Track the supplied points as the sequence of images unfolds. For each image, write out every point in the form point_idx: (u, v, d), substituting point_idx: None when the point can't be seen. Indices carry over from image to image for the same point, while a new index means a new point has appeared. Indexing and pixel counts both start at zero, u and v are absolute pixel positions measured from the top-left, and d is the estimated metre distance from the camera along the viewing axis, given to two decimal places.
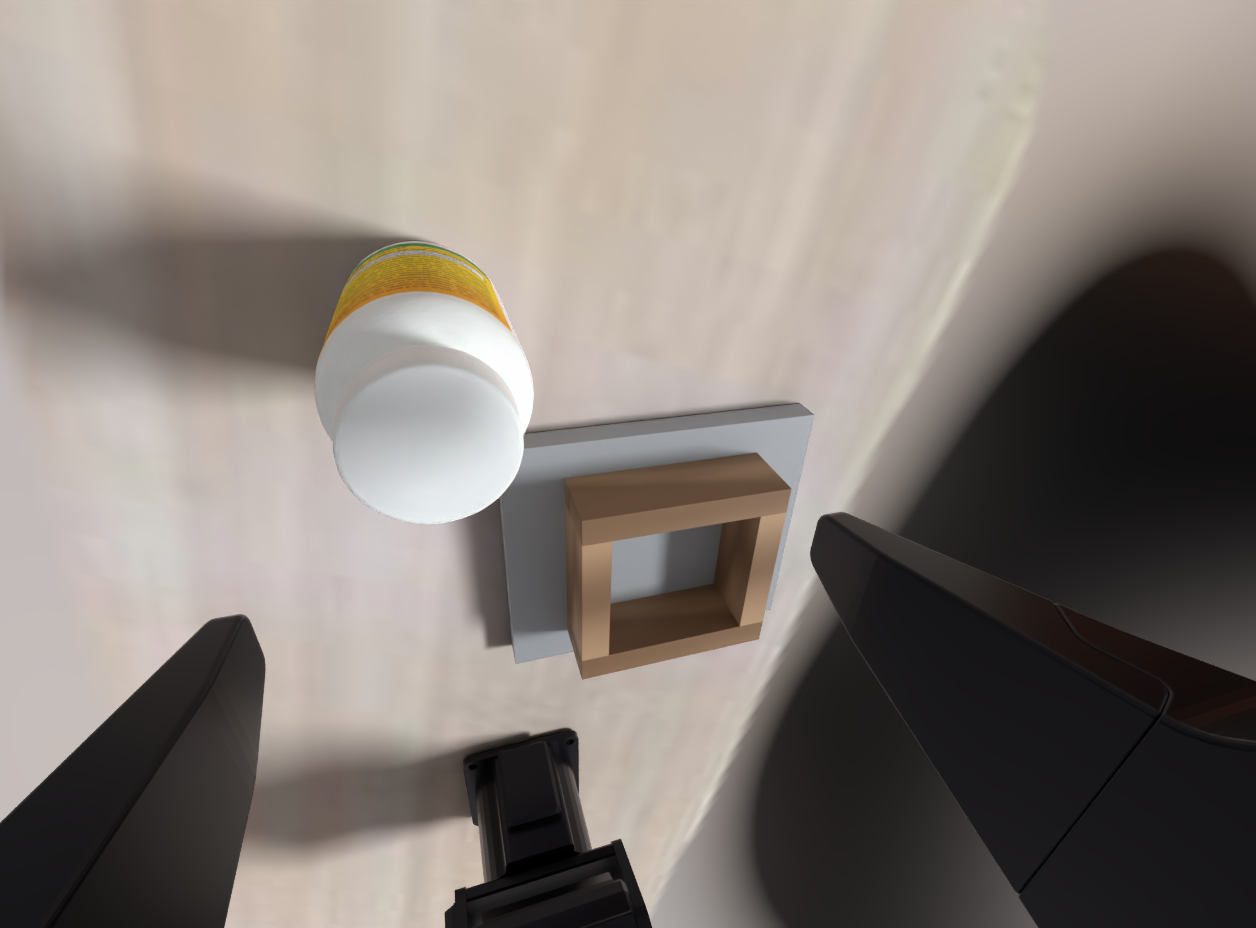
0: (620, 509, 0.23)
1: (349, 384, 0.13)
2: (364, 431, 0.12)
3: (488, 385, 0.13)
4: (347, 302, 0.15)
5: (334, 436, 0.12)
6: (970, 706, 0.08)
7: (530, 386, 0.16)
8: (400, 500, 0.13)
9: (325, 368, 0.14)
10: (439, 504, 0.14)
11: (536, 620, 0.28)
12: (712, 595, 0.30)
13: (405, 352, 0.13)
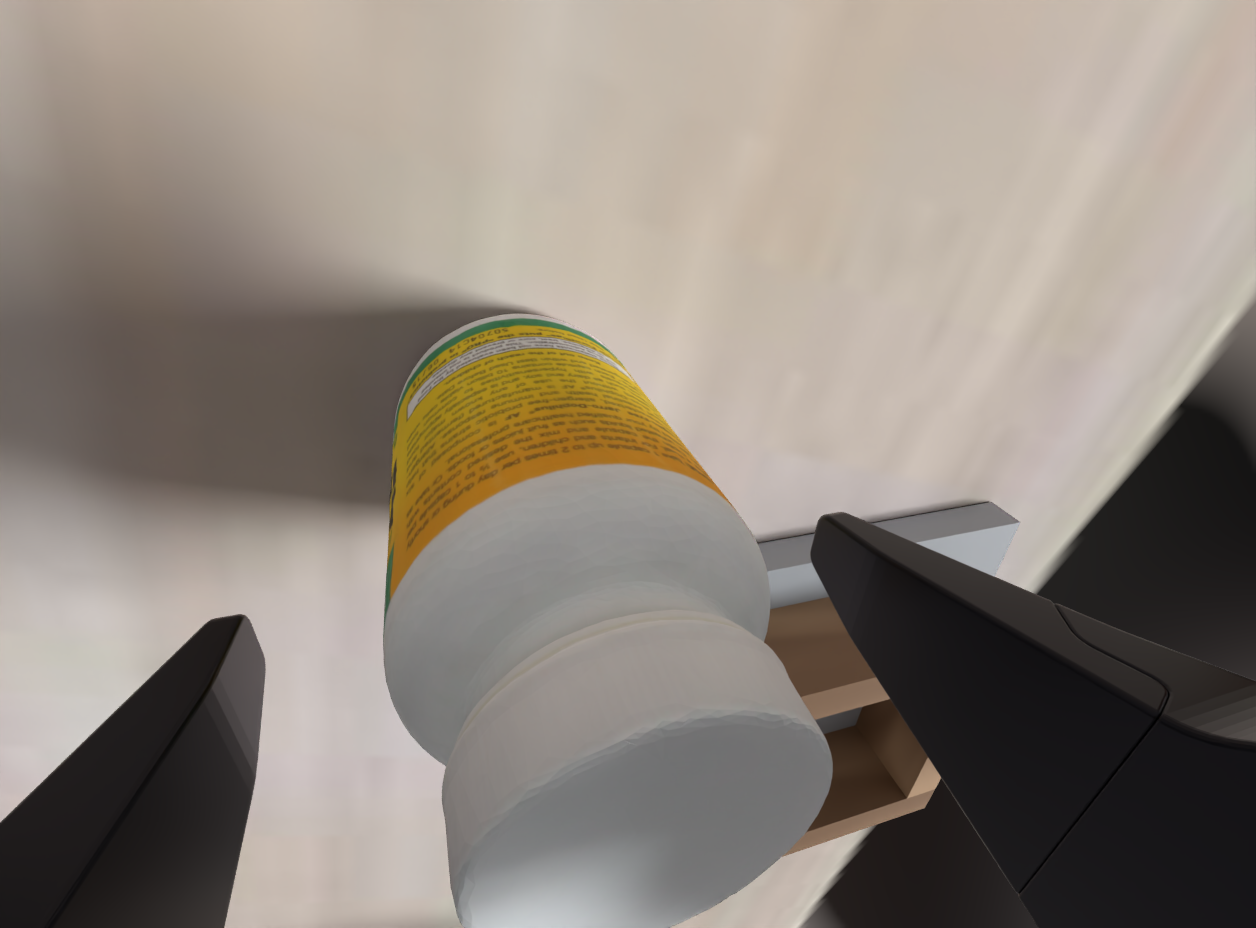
0: None
1: (485, 724, 0.06)
2: (527, 855, 0.05)
3: (800, 726, 0.06)
4: (437, 462, 0.08)
5: (460, 875, 0.05)
6: (970, 706, 0.08)
7: (769, 610, 0.09)
8: None
9: (413, 635, 0.07)
10: (649, 917, 0.07)
11: None
12: (858, 745, 0.23)
13: (615, 655, 0.06)
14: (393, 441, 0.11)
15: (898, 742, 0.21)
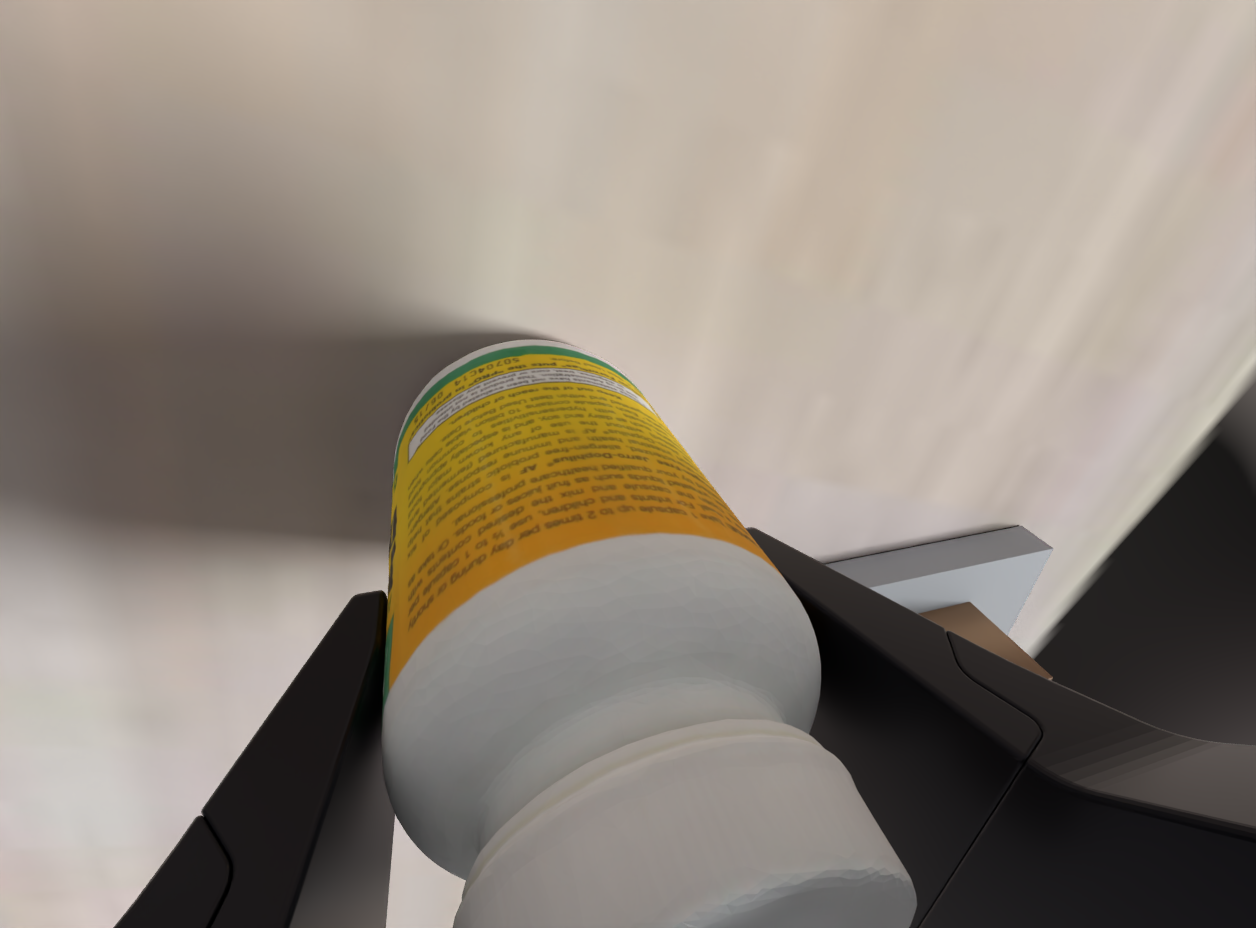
0: None
1: (503, 875, 0.05)
2: None
3: (888, 878, 0.05)
4: (443, 522, 0.07)
5: None
6: (861, 738, 0.08)
7: None
8: None
9: (415, 740, 0.06)
10: None
11: None
12: None
13: (662, 793, 0.05)
14: (393, 481, 0.10)
15: None
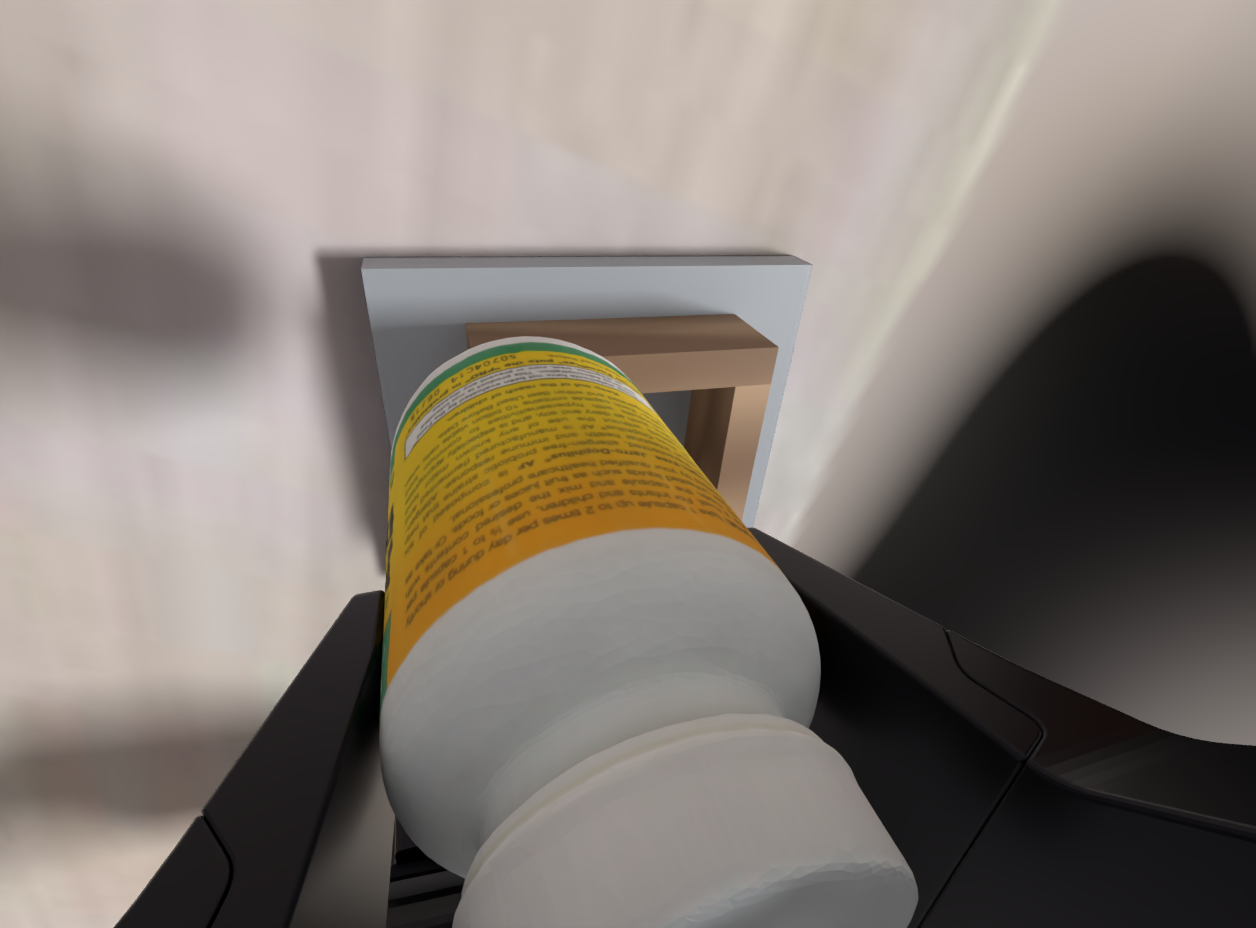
0: None
1: (504, 871, 0.05)
2: None
3: (889, 872, 0.05)
4: (440, 518, 0.07)
5: None
6: (861, 738, 0.08)
7: None
8: None
9: (414, 739, 0.06)
10: None
11: None
12: None
13: (663, 787, 0.05)
14: None
15: None
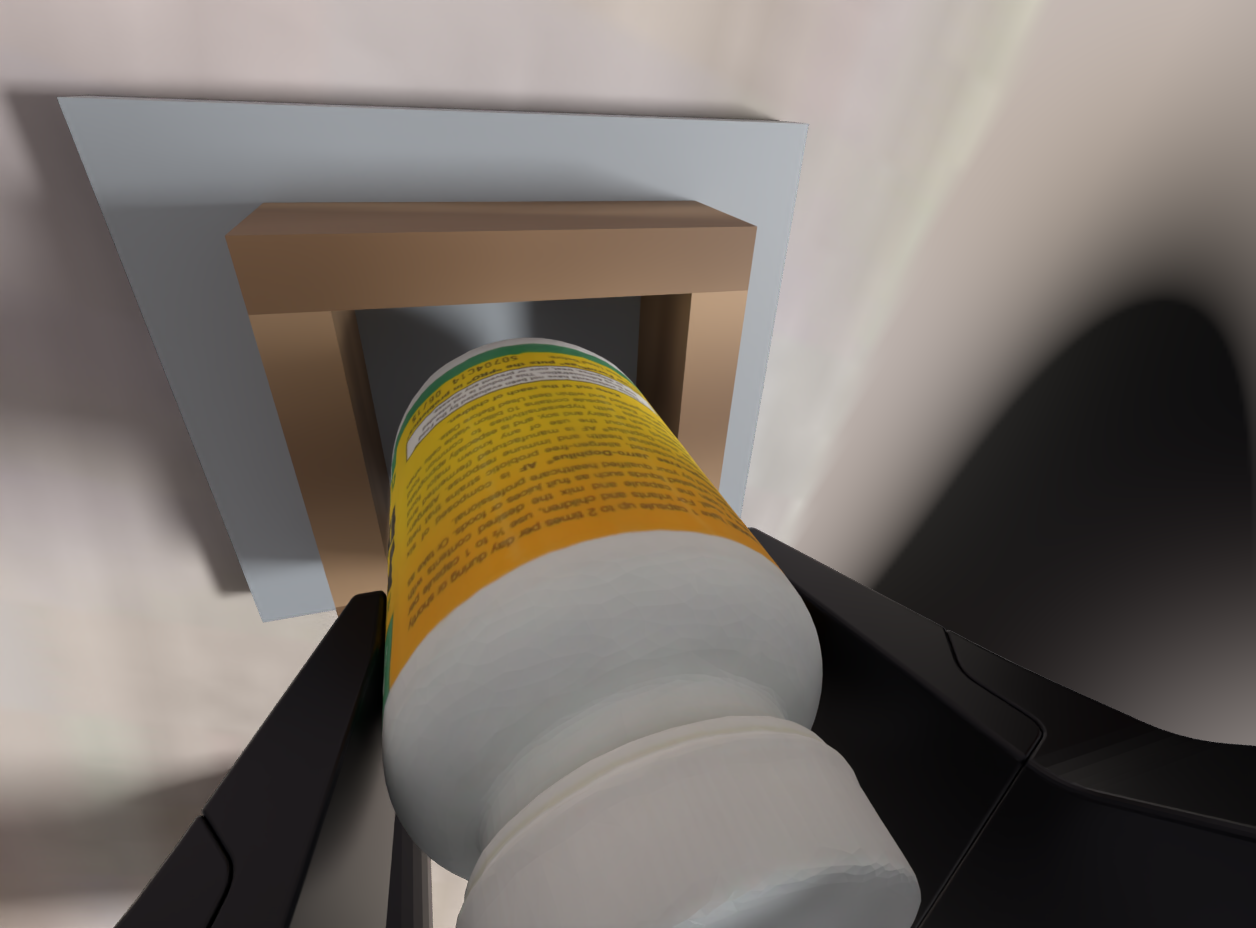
0: (343, 229, 0.10)
1: (507, 873, 0.05)
2: None
3: (892, 873, 0.05)
4: (443, 520, 0.07)
5: None
6: (860, 739, 0.08)
7: None
8: None
9: (416, 740, 0.06)
10: None
11: (283, 537, 0.15)
12: None
13: (666, 790, 0.05)
14: (391, 480, 0.10)
15: None
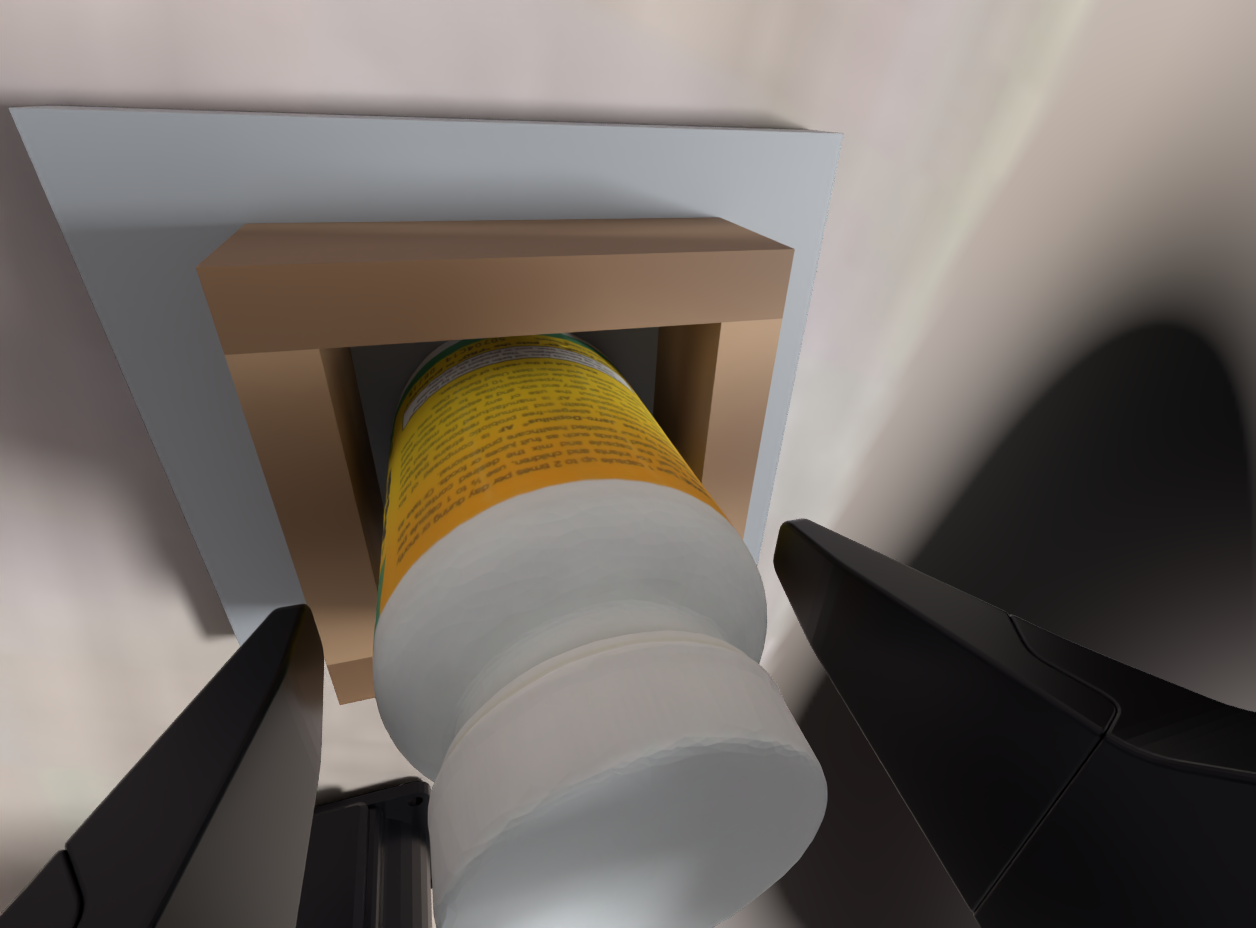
0: (333, 257, 0.08)
1: (470, 748, 0.06)
2: (511, 884, 0.05)
3: (792, 753, 0.05)
4: (430, 475, 0.08)
5: (442, 904, 0.05)
6: (924, 720, 0.08)
7: (766, 627, 0.08)
8: None
9: (401, 653, 0.07)
10: None
11: (272, 581, 0.14)
12: None
13: (602, 679, 0.05)
14: None
15: None
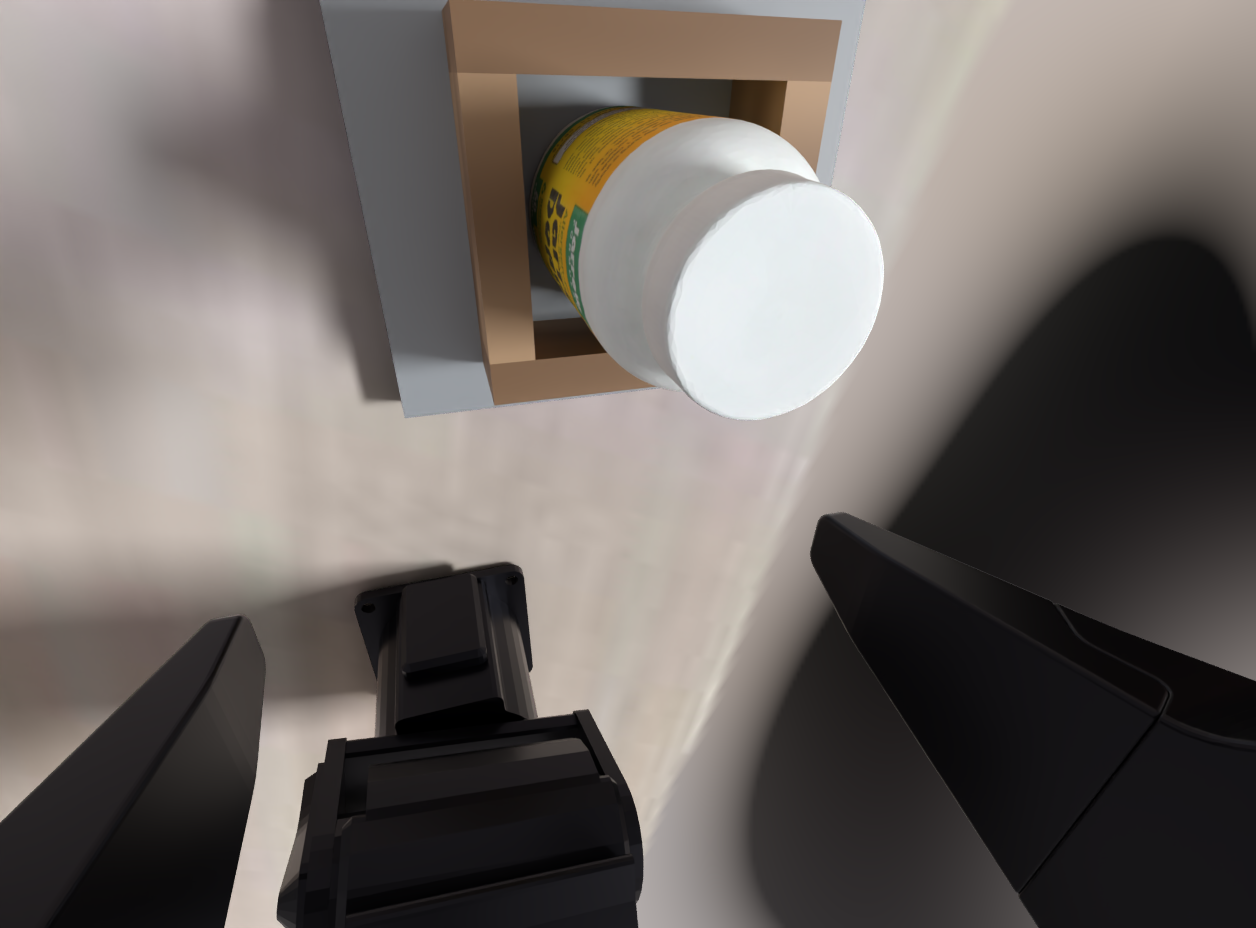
0: (528, 4, 0.12)
1: (678, 220, 0.09)
2: (711, 278, 0.09)
3: (866, 218, 0.09)
4: (604, 148, 0.12)
5: (674, 285, 0.09)
6: (970, 706, 0.08)
7: None
8: (725, 384, 0.10)
9: (613, 216, 0.11)
10: (765, 392, 0.11)
11: (428, 334, 0.18)
12: None
13: (756, 174, 0.09)
14: (538, 194, 0.15)
15: None
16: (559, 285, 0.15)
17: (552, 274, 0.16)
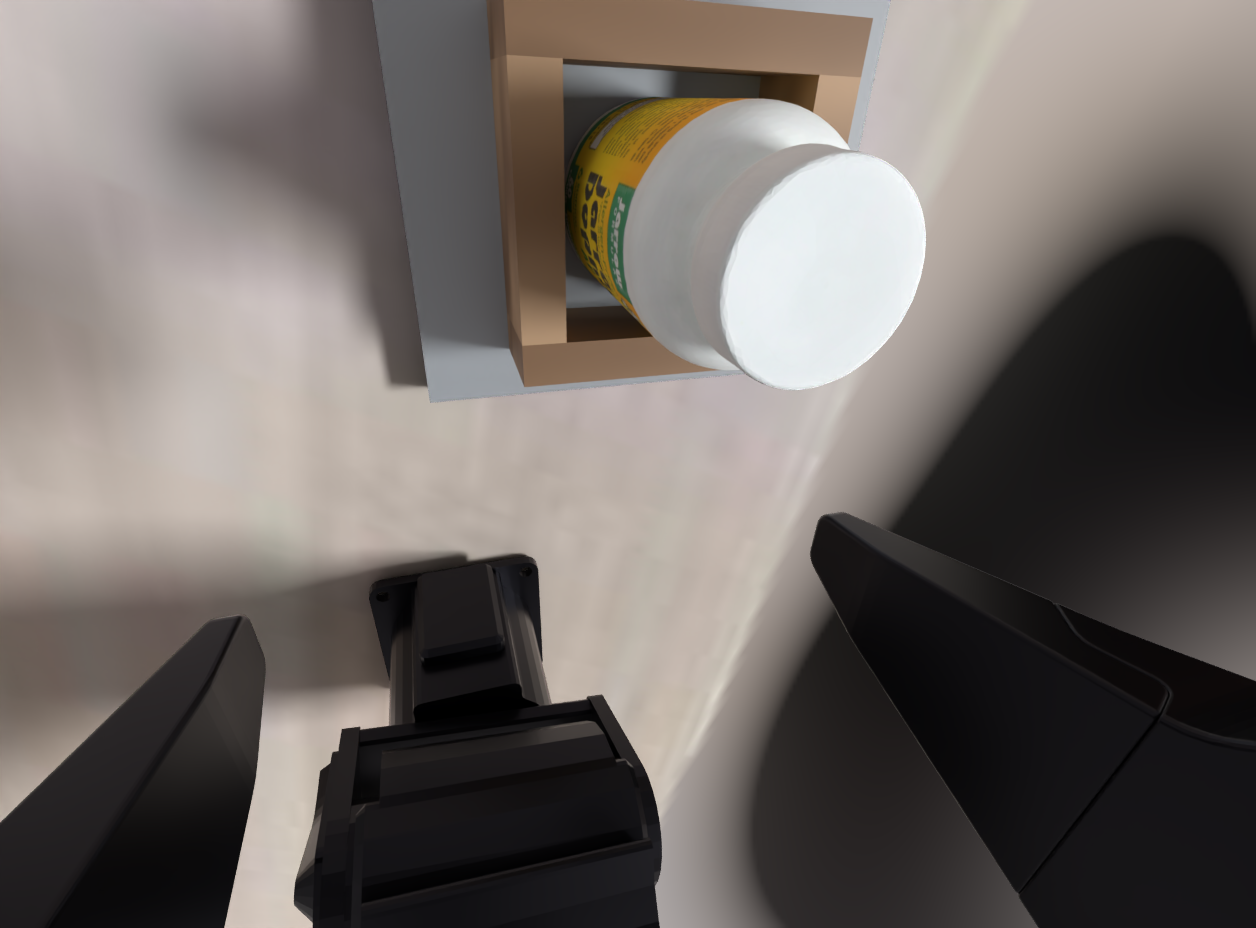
0: None
1: (731, 190, 0.10)
2: (764, 244, 0.09)
3: (912, 192, 0.10)
4: (648, 129, 0.12)
5: (729, 249, 0.09)
6: (970, 706, 0.08)
7: None
8: (770, 352, 0.11)
9: (662, 189, 0.11)
10: (808, 362, 0.11)
11: (457, 318, 0.18)
12: None
13: (807, 147, 0.10)
14: (574, 180, 0.15)
15: None
16: (592, 268, 0.16)
17: (585, 259, 0.16)
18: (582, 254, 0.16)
